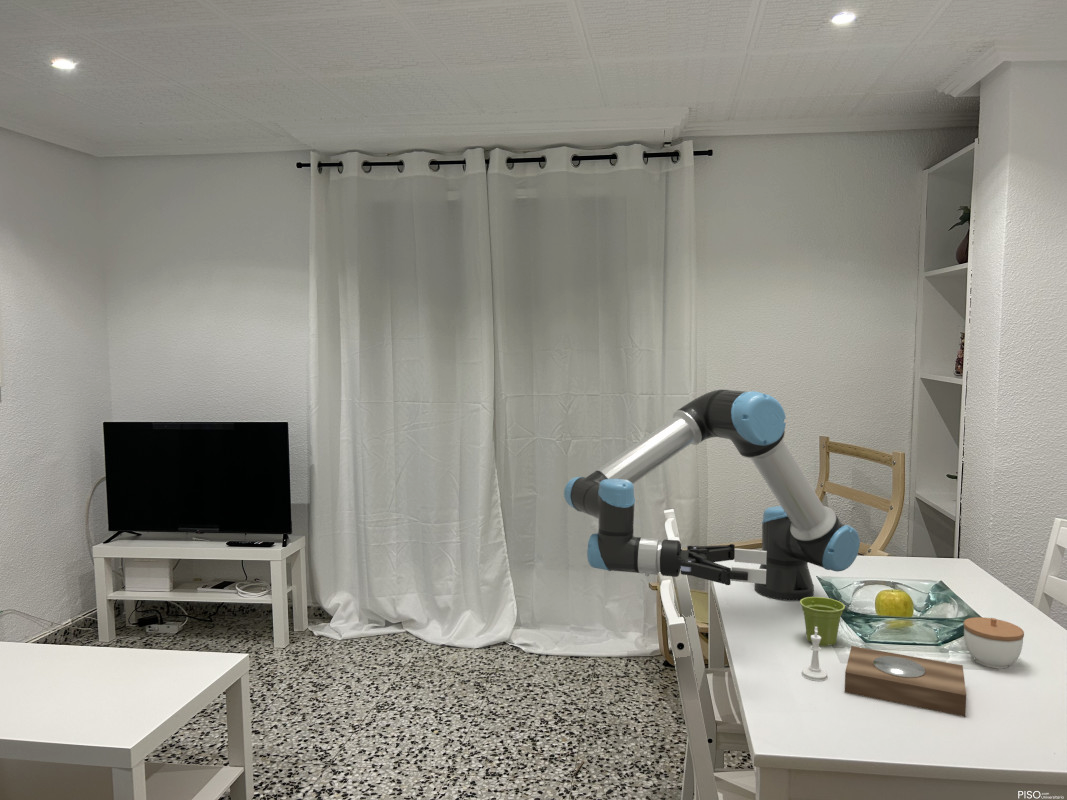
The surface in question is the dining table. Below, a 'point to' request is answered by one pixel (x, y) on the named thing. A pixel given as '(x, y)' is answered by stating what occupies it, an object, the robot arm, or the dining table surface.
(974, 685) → the dining table surface
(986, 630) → the lidded jar
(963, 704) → the walnut base
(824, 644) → the plant pot
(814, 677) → the chess piece
